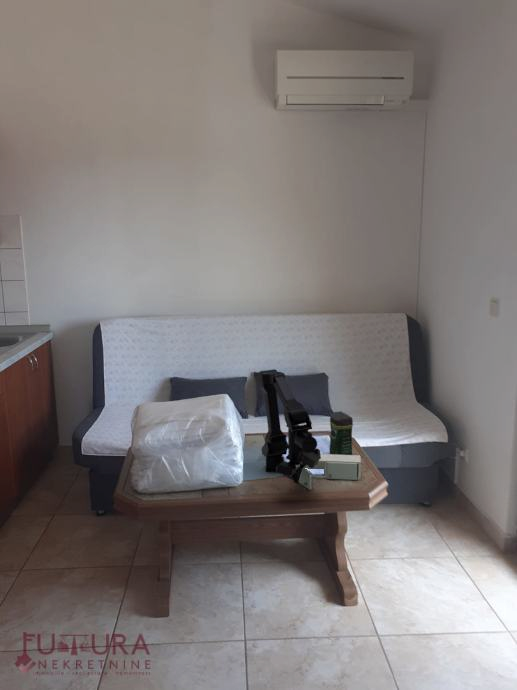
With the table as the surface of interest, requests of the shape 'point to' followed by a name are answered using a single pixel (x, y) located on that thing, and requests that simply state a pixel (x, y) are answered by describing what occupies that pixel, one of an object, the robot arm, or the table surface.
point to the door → (306, 478)
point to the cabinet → (339, 466)
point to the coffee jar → (341, 434)
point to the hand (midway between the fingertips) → (296, 482)
